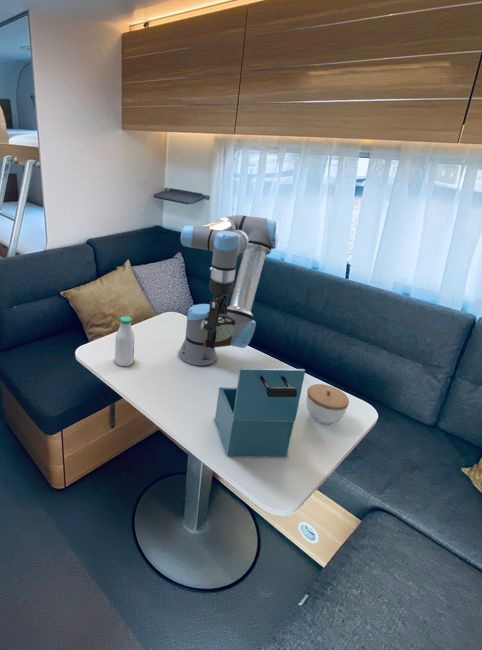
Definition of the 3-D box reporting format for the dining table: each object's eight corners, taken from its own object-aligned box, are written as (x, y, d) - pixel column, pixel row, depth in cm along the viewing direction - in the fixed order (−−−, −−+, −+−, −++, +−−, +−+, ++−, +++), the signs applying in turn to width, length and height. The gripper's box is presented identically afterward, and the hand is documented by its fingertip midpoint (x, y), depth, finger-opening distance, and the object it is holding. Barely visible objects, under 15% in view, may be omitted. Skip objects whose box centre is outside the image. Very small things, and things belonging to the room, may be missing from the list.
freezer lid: (239, 368, 113) (250, 387, 104) (304, 369, 113) (319, 388, 105) (232, 418, 118) (241, 440, 110) (293, 419, 119) (307, 441, 110)
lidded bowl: (296, 405, 146) (301, 379, 142) (330, 404, 147) (336, 378, 143) (314, 430, 134) (321, 402, 130) (351, 429, 135) (358, 401, 131)
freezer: (214, 419, 138) (219, 387, 133) (267, 420, 138) (273, 388, 134) (227, 455, 123) (232, 420, 118) (286, 456, 123) (294, 421, 119)
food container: (227, 335, 145) (230, 310, 141) (235, 345, 140) (238, 320, 135) (194, 339, 143) (196, 314, 139) (200, 349, 138) (202, 324, 134)
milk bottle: (131, 367, 166) (133, 323, 159) (113, 365, 167) (114, 321, 160) (134, 357, 173) (136, 315, 166) (117, 355, 174) (118, 313, 167)
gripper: (220, 268, 142) (213, 326, 150) (200, 287, 125) (193, 352, 133) (241, 272, 138) (233, 331, 146) (224, 292, 121) (215, 358, 129)
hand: (214, 341), depth 140 cm, fingers closed on food container, 8 cm apart
